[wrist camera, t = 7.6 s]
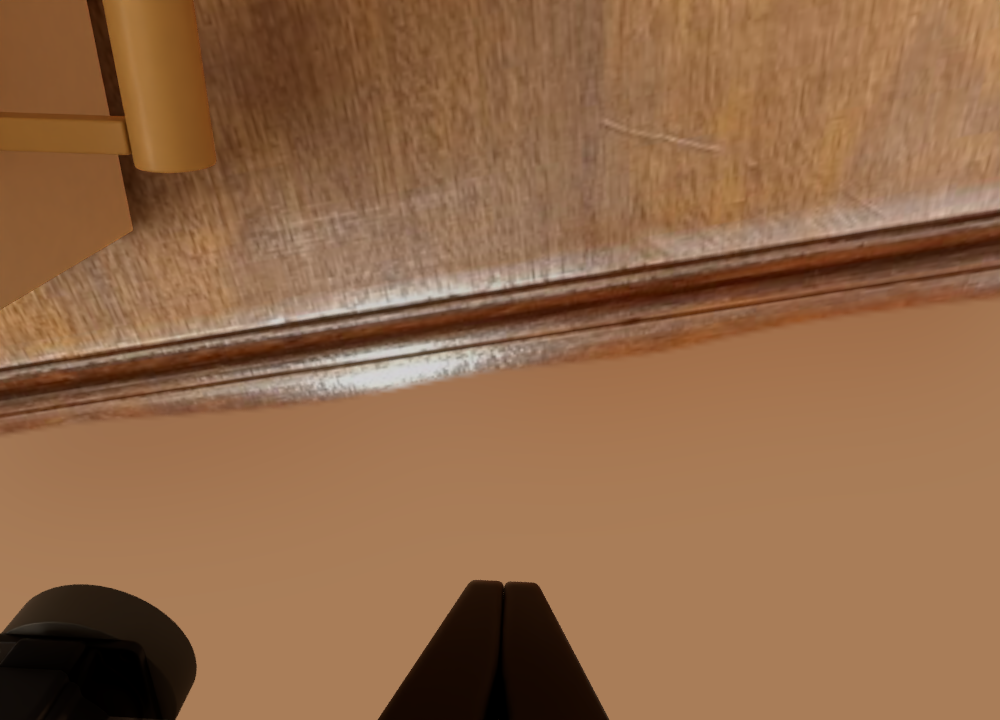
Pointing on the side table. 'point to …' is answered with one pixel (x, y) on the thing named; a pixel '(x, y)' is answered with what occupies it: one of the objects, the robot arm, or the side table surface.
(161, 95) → the drawer
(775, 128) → the side table surface
